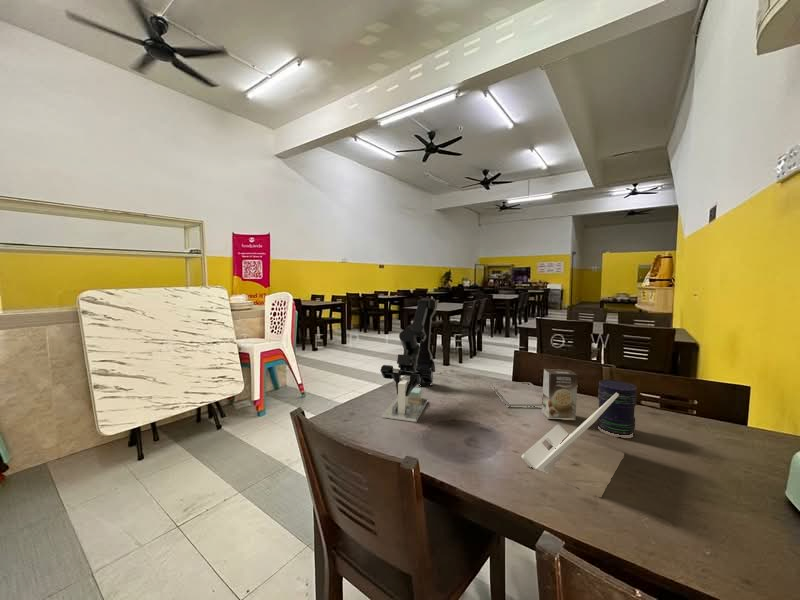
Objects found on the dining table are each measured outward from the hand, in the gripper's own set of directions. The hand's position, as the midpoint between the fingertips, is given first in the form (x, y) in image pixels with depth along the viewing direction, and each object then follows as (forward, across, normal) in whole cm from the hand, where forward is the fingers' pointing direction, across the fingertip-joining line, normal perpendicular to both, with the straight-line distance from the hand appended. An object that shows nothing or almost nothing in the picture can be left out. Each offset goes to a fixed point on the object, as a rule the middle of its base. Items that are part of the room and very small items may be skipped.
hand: (402, 395), depth 110 cm
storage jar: (-1, +67, +12) cm, 68 cm away
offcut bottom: (-4, 0, +13) cm, 14 cm away
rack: (+1, 0, +9) cm, 9 cm away
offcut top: (-6, 0, +12) cm, 13 cm away
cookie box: (-6, +52, +16) cm, 55 cm away
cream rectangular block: (+3, 0, +5) cm, 6 cm away
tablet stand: (+14, +51, -4) cm, 53 cm away
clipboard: (-19, +40, +30) cm, 54 cm away
